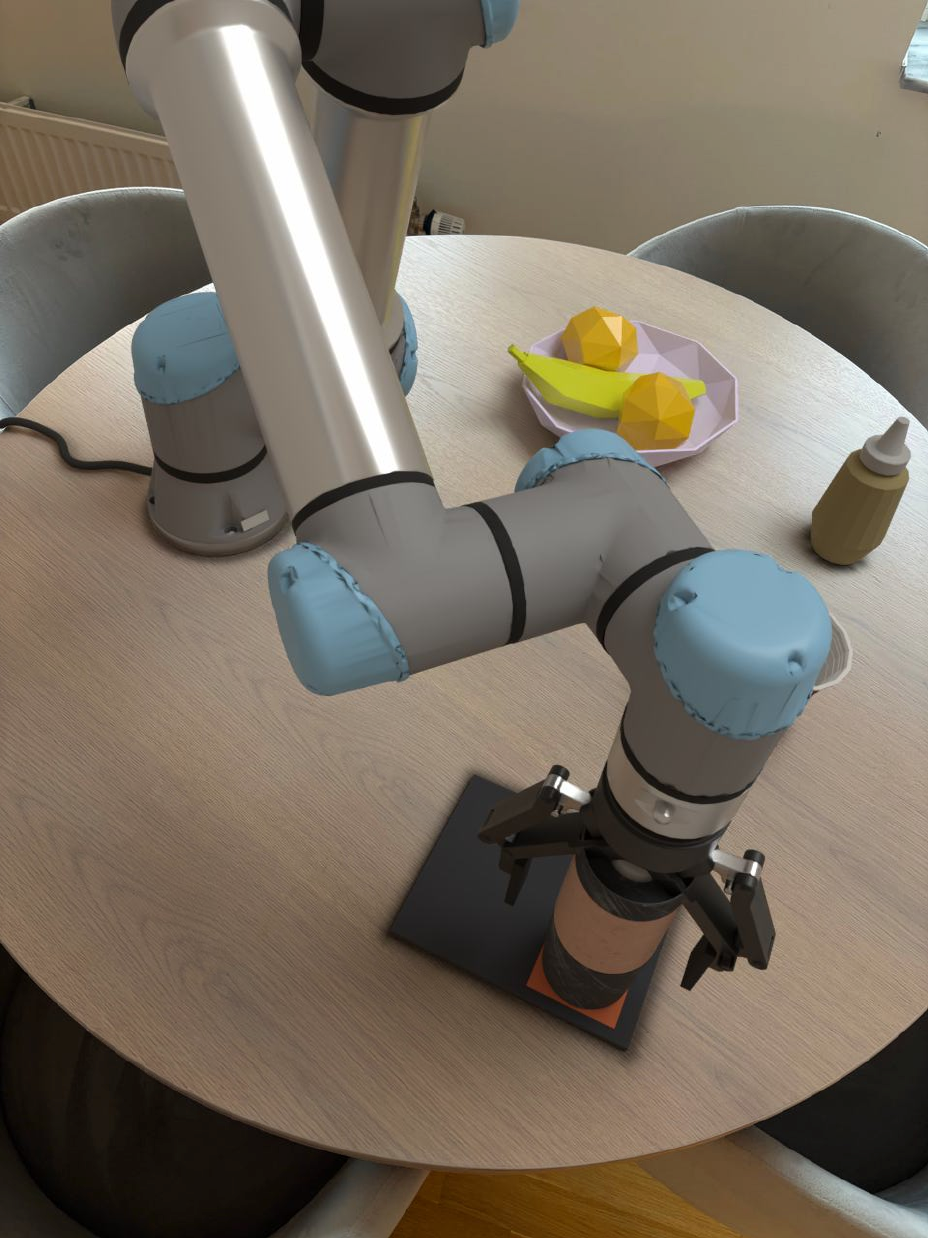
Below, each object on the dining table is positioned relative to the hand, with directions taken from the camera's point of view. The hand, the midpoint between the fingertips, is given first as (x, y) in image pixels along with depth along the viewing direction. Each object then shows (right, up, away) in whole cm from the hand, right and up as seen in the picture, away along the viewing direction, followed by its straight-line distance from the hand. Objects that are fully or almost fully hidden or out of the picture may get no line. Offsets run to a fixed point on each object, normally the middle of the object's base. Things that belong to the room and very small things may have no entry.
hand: (601, 929), depth 69 cm
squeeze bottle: (+32, +31, +38) cm, 59 cm away
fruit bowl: (+9, +48, +50) cm, 70 cm away
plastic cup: (+18, +13, +23) cm, 32 cm away
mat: (-3, -1, +9) cm, 10 cm away
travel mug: (0, -5, +5) cm, 7 cm away
